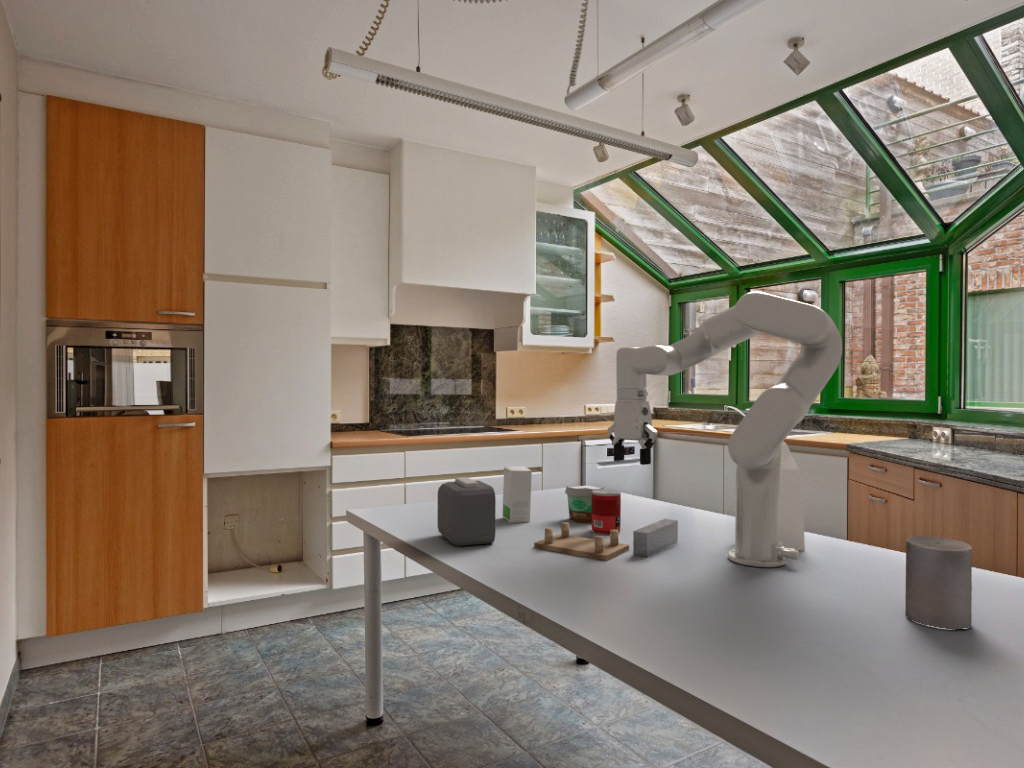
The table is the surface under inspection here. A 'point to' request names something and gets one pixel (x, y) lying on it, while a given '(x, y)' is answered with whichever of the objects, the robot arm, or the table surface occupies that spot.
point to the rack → (582, 544)
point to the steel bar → (655, 537)
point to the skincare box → (517, 494)
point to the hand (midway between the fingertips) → (631, 462)
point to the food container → (580, 504)
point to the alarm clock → (466, 512)
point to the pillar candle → (938, 582)
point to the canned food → (606, 510)
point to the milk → (790, 502)
